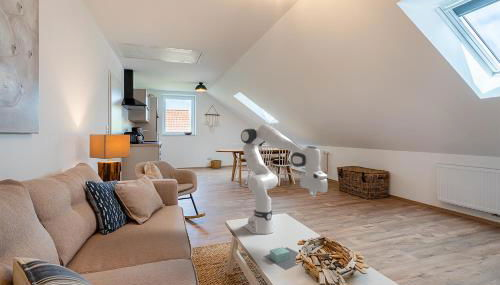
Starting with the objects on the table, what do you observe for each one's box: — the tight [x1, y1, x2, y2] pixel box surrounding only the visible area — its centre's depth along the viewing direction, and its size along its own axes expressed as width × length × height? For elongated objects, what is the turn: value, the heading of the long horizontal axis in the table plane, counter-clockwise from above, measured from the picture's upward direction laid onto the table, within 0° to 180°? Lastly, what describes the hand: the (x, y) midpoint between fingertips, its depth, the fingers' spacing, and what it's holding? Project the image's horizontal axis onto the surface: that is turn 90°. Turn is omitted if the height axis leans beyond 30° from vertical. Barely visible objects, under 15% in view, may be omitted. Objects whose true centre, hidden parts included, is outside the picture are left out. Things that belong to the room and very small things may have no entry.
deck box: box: [269, 246, 290, 263], centre depth 129 cm, size 6×4×8 cm
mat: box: [263, 247, 299, 271], centre depth 130 cm, size 17×18×1 cm
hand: (312, 197), depth 144 cm, fingers closed
